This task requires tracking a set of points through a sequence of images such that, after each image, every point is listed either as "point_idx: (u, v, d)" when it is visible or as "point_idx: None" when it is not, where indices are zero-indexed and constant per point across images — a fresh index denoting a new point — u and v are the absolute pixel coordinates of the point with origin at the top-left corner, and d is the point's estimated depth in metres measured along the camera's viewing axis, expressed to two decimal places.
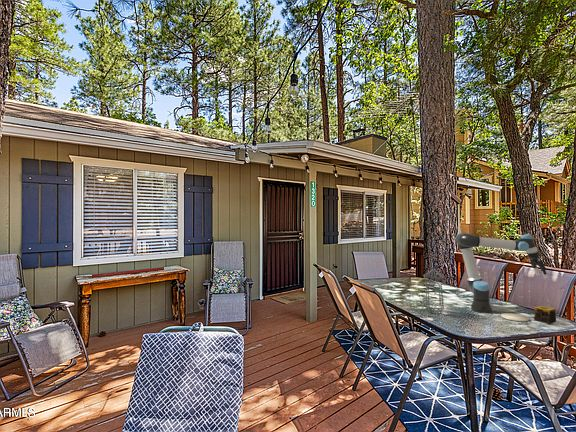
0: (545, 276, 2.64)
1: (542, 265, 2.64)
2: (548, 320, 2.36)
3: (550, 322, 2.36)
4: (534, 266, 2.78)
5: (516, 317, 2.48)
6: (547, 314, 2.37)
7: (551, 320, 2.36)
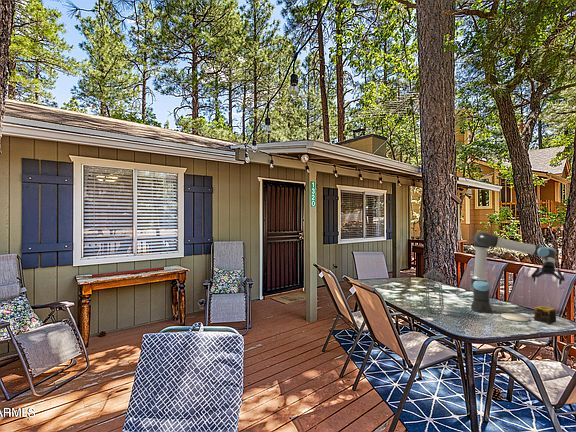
0: None
1: None
2: (548, 320, 2.36)
3: (550, 322, 2.36)
4: (537, 276, 2.58)
5: (516, 317, 2.48)
6: (547, 314, 2.37)
7: (551, 320, 2.36)
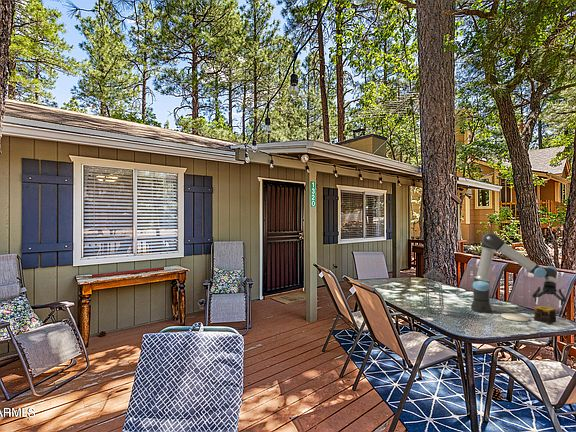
0: (560, 306, 2.41)
1: None
2: (548, 320, 2.36)
3: (550, 322, 2.36)
4: (538, 296, 2.53)
5: (516, 317, 2.48)
6: (547, 314, 2.37)
7: (551, 320, 2.36)
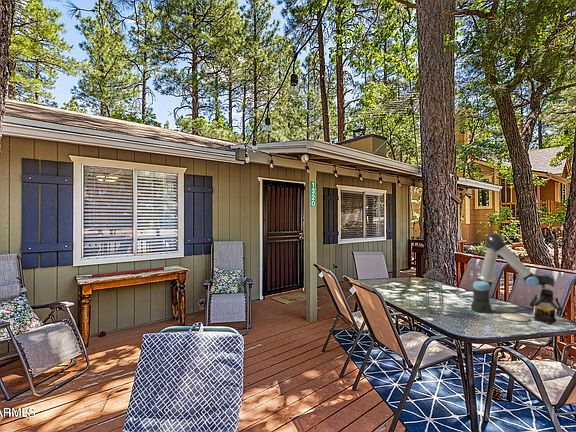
0: (556, 315, 2.36)
1: None
2: (548, 320, 2.35)
3: (550, 322, 2.36)
4: (536, 304, 2.48)
5: (516, 317, 2.48)
6: (547, 314, 2.36)
7: (551, 320, 2.36)
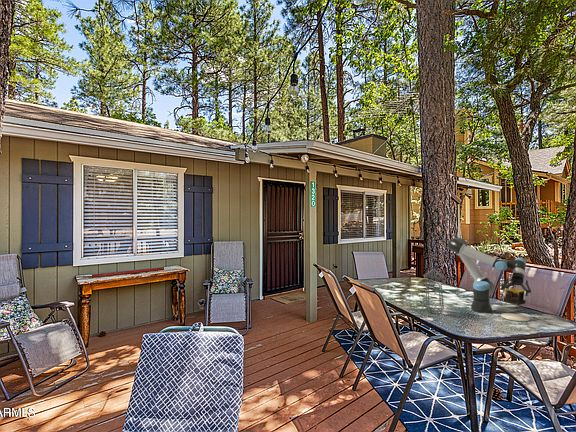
0: (525, 297, 2.44)
1: (529, 287, 2.48)
2: (517, 301, 2.44)
3: (519, 303, 2.44)
4: (507, 287, 2.56)
5: (516, 317, 2.48)
6: (517, 295, 2.44)
7: (520, 301, 2.44)
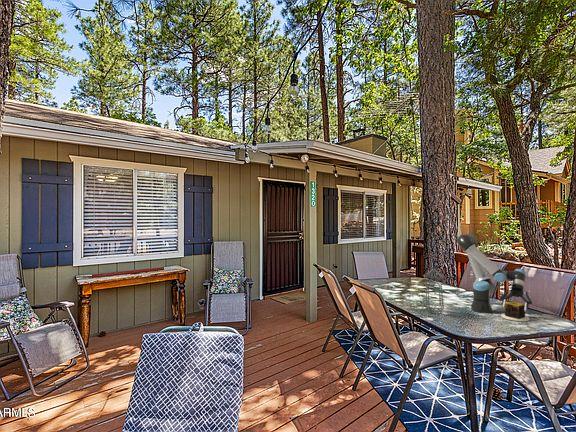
0: (526, 308, 2.44)
1: (529, 299, 2.48)
2: (517, 315, 2.44)
3: (519, 317, 2.44)
4: (506, 298, 2.56)
5: None
6: (517, 309, 2.45)
7: (520, 315, 2.44)
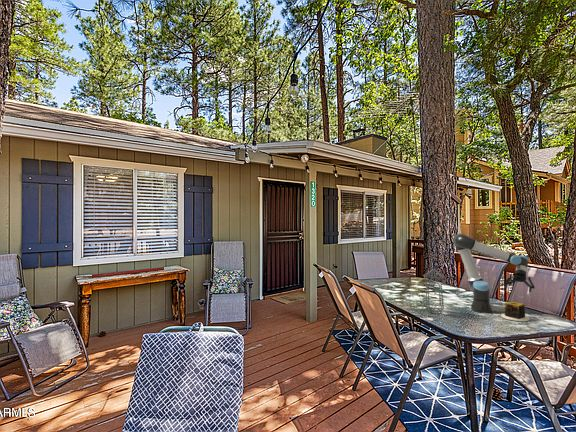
0: (528, 293, 2.53)
1: (532, 283, 2.57)
2: (517, 315, 2.44)
3: (519, 317, 2.44)
4: (509, 283, 2.65)
5: None
6: (517, 309, 2.45)
7: (520, 315, 2.44)
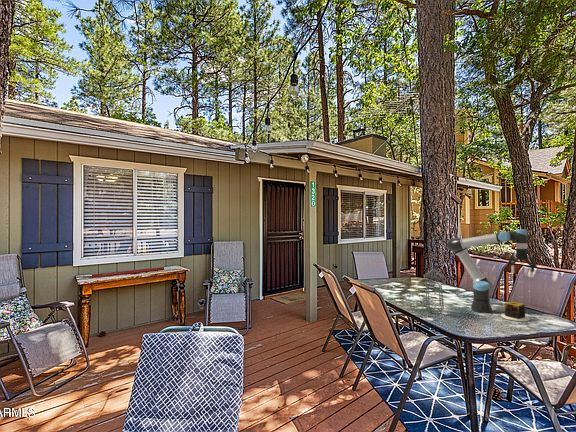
0: (531, 274, 2.58)
1: (534, 262, 2.57)
2: (517, 315, 2.44)
3: (519, 317, 2.44)
4: (513, 263, 2.70)
5: None
6: (517, 309, 2.45)
7: (520, 315, 2.44)
